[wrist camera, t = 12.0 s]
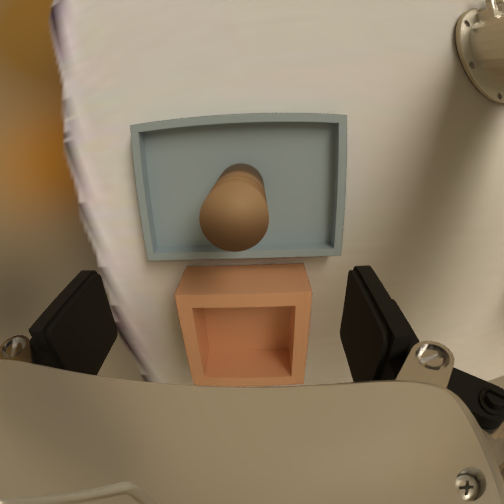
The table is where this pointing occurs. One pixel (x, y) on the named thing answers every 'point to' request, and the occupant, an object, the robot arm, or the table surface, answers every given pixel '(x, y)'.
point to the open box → (245, 323)
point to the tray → (252, 153)
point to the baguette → (236, 209)
